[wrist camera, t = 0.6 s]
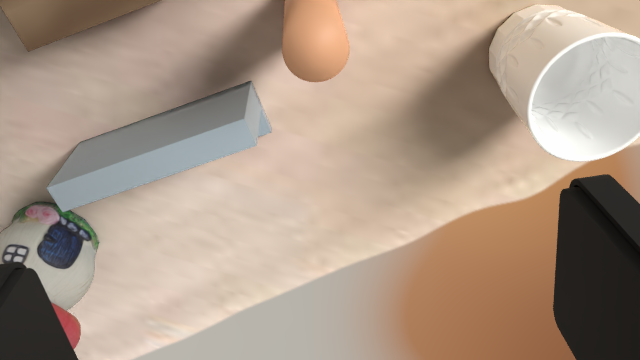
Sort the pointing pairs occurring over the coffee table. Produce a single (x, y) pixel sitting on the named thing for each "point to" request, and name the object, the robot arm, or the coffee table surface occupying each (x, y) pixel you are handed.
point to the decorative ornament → (54, 256)
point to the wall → (160, 146)
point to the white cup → (569, 81)
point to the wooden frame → (62, 17)
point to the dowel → (314, 39)
